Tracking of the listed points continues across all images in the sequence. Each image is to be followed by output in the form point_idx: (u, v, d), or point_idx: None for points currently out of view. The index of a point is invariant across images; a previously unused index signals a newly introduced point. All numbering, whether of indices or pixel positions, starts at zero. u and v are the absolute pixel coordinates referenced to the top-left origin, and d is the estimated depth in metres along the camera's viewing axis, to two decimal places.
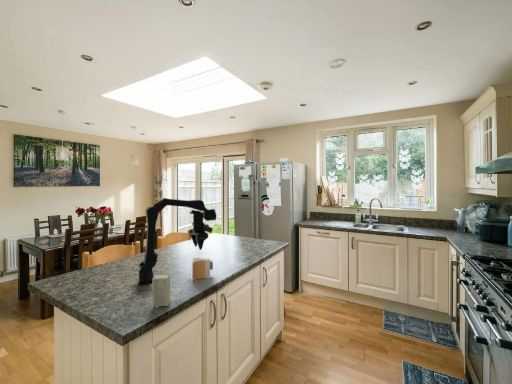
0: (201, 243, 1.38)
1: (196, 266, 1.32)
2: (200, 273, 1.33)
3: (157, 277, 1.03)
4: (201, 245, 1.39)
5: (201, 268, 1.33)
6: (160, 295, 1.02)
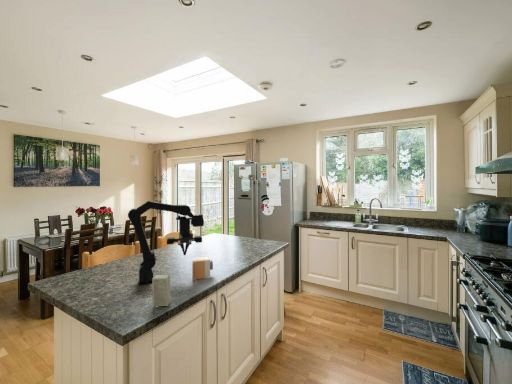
0: (182, 248, 1.37)
1: (196, 266, 1.32)
2: (200, 273, 1.33)
3: (157, 277, 1.03)
4: (182, 250, 1.37)
5: (201, 268, 1.33)
6: (161, 295, 1.02)
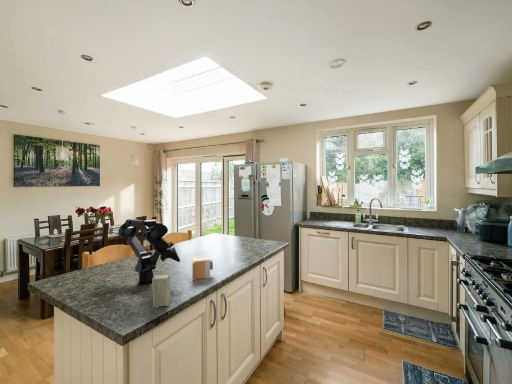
0: None
1: (196, 266, 1.32)
2: (200, 273, 1.33)
3: (157, 277, 1.03)
4: None
5: (201, 268, 1.33)
6: (160, 295, 1.02)
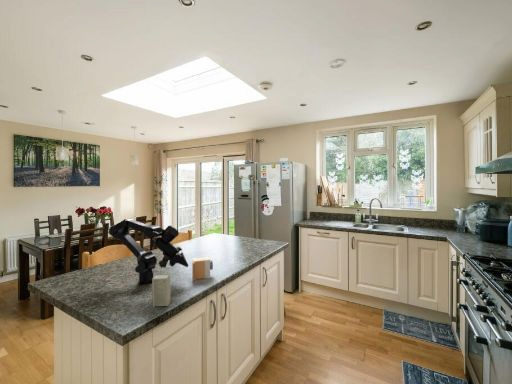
0: None
1: (196, 266, 1.32)
2: (200, 273, 1.33)
3: (157, 277, 1.03)
4: None
5: (201, 268, 1.33)
6: (161, 295, 1.02)
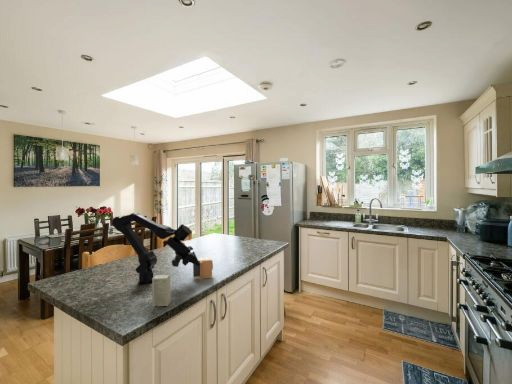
0: None
1: (203, 265, 1.33)
2: (207, 272, 1.34)
3: (157, 277, 1.03)
4: None
5: (208, 267, 1.34)
6: (160, 295, 1.02)
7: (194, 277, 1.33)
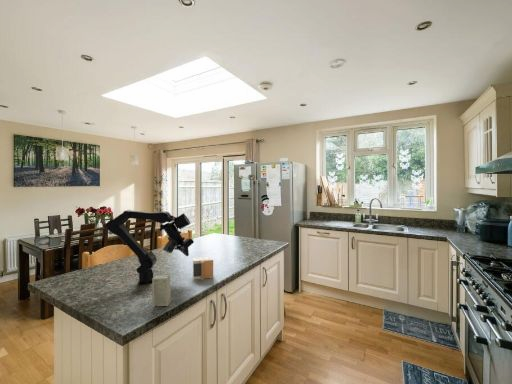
0: None
1: (205, 265, 1.34)
2: (209, 272, 1.34)
3: (157, 277, 1.03)
4: None
5: (210, 267, 1.34)
6: (161, 295, 1.02)
7: (194, 277, 1.33)
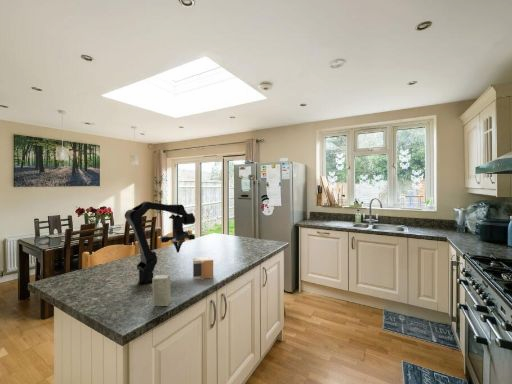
0: (175, 246, 1.42)
1: (205, 265, 1.34)
2: (209, 272, 1.34)
3: (157, 277, 1.03)
4: None
5: (210, 267, 1.34)
6: (161, 295, 1.02)
7: (194, 277, 1.33)
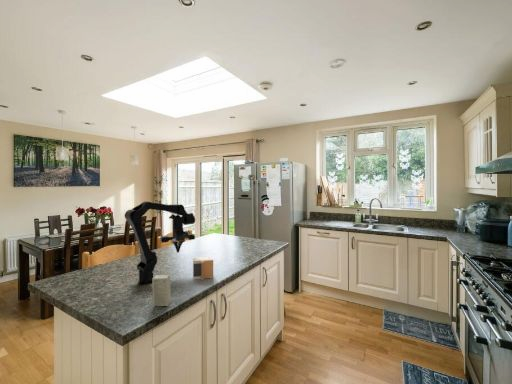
0: (175, 246, 1.42)
1: (205, 265, 1.34)
2: (209, 272, 1.34)
3: (157, 277, 1.03)
4: None
5: (210, 267, 1.34)
6: (161, 295, 1.02)
7: (194, 277, 1.33)
